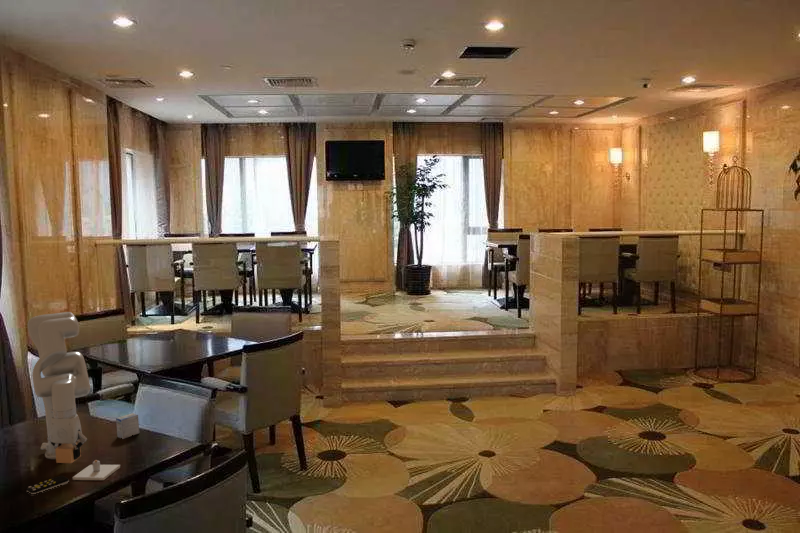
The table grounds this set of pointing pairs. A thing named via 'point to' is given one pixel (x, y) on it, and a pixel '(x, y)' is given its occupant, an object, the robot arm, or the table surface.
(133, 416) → the medicine box
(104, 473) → the post base
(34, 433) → the table surface
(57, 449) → the cardboard shipping carton
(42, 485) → the remote control
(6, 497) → the table surface
